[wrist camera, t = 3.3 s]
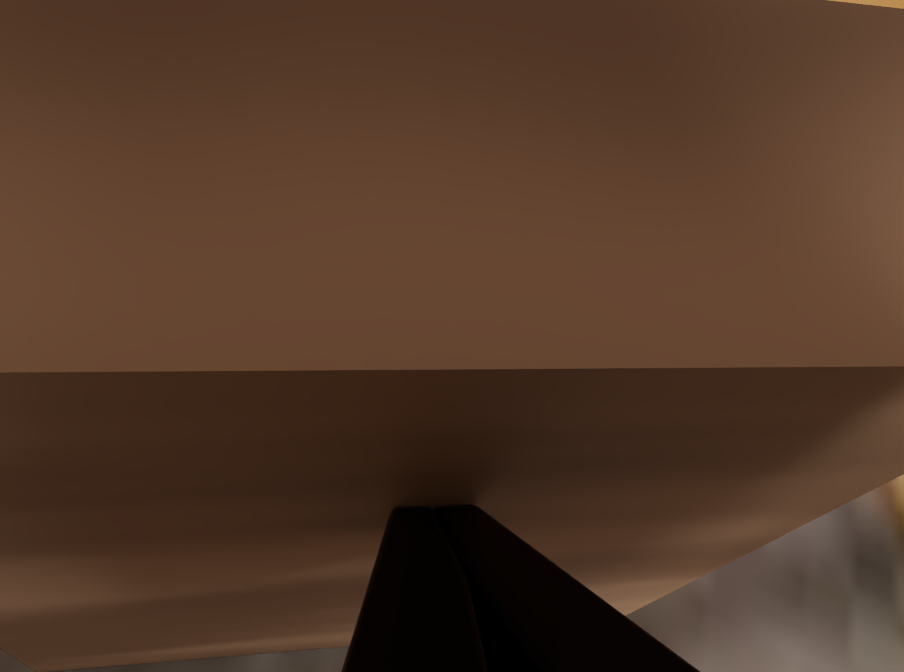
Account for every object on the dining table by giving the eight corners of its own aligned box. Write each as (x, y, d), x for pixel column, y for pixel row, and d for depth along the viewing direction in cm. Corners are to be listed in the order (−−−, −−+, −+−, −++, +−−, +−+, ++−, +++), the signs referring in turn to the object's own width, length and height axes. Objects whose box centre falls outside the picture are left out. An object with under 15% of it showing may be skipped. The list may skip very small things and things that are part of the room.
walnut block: (608, 624, 16) (1117, 365, 7) (37, 672, 14) (-425, 375, 4) (570, 429, 18) (928, 11, 8) (63, 441, 16) (-218, -117, 6)
